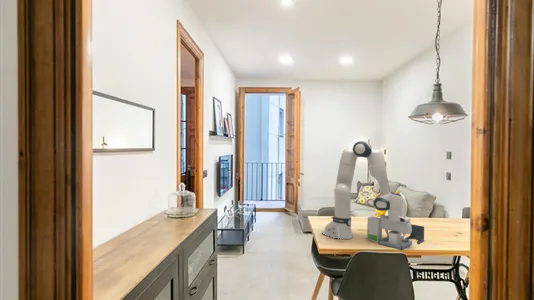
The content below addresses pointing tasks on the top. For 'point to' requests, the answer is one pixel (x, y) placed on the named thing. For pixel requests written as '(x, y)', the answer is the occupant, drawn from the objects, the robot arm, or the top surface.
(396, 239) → the caddy
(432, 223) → the top surface
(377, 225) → the skincare box
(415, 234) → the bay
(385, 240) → the tray
